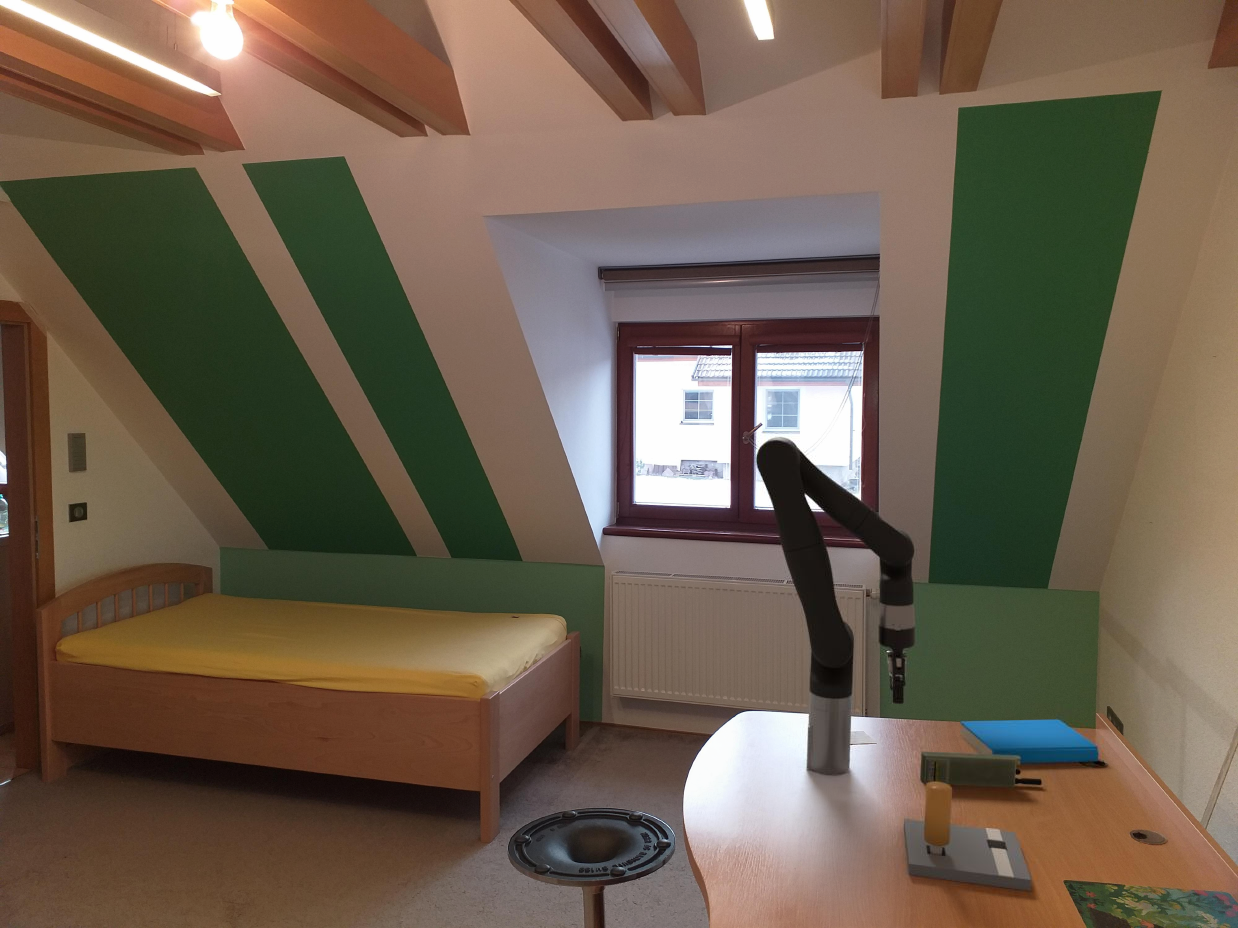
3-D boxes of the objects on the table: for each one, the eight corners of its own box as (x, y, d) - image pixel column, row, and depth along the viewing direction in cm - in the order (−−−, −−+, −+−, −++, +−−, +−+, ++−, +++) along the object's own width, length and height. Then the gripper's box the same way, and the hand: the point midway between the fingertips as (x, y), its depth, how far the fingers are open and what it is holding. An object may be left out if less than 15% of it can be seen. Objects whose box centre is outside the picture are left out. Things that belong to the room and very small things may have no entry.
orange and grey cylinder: (923, 865, 167) (927, 790, 165) (922, 853, 171) (925, 780, 170) (949, 868, 166) (953, 793, 164) (947, 856, 170) (950, 782, 168)
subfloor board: (908, 874, 164) (909, 862, 164) (903, 828, 180) (904, 817, 180) (1030, 890, 159) (1031, 878, 159) (1014, 841, 175) (1015, 831, 175)
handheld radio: (919, 778, 203) (1038, 783, 201) (922, 785, 200) (1043, 791, 197) (920, 749, 202) (1040, 754, 200) (924, 756, 199) (1045, 761, 196)
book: (959, 721, 226) (1058, 717, 228) (959, 738, 227) (1057, 734, 229) (993, 750, 209) (1099, 745, 211) (993, 768, 210) (1099, 763, 212)
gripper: (876, 614, 209) (877, 685, 210) (880, 630, 195) (880, 706, 196) (911, 615, 207) (911, 686, 208) (917, 632, 193) (917, 708, 194)
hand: (896, 696), depth 202 cm, fingers open, 8 cm apart
